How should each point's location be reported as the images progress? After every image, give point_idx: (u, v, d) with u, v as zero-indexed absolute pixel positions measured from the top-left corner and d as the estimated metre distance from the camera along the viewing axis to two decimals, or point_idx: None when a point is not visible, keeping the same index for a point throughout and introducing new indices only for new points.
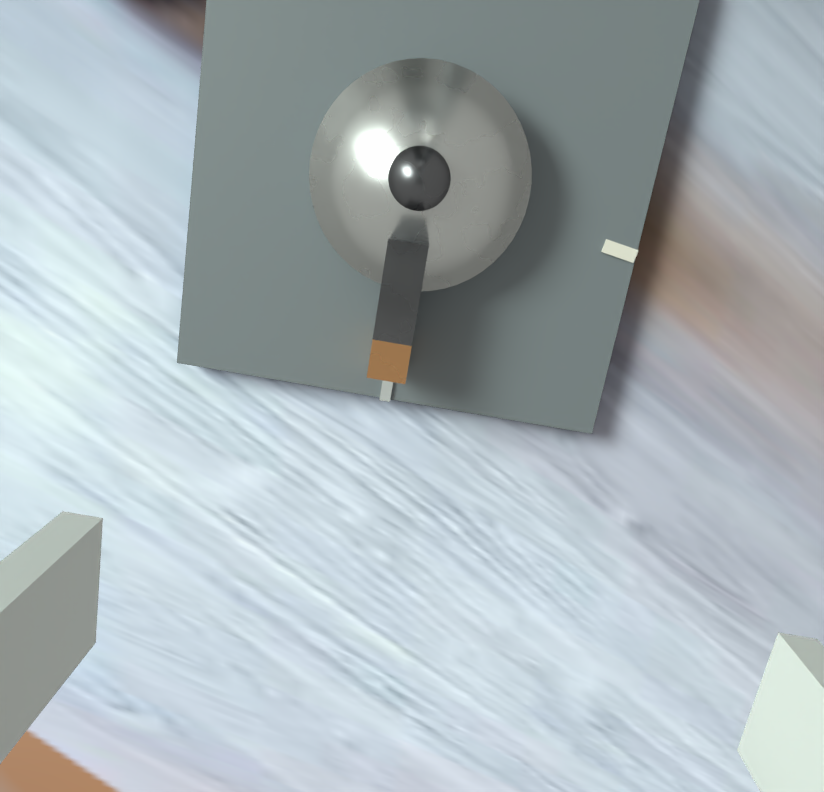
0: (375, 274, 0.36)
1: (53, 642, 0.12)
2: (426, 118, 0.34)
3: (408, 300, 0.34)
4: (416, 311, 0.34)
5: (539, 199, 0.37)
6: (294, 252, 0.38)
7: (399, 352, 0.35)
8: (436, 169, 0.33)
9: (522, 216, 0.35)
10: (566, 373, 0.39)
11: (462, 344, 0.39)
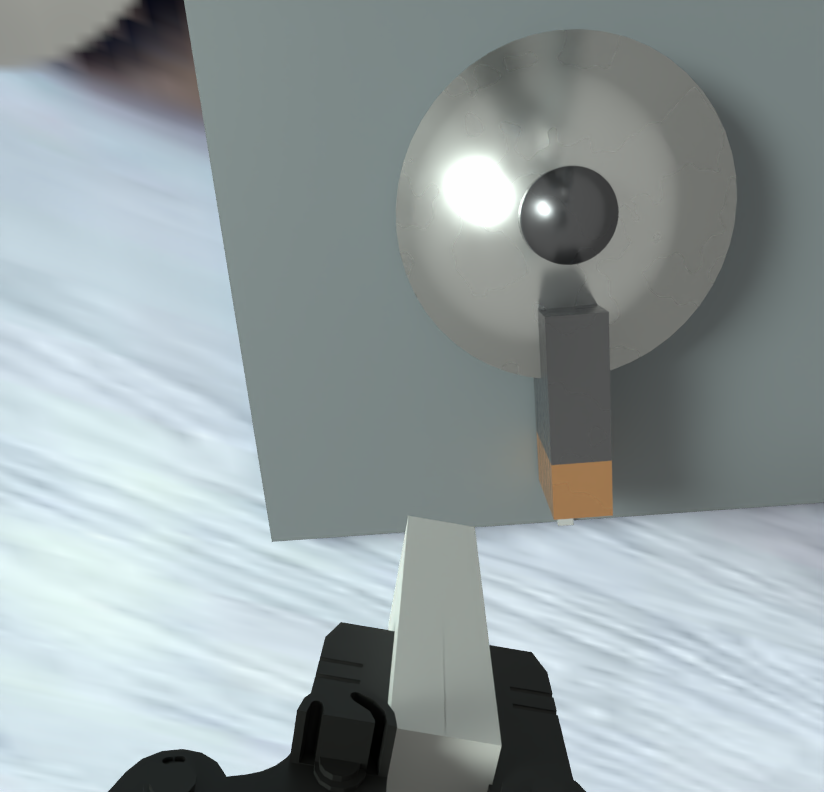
0: (526, 367, 0.24)
1: None
2: (555, 124, 0.22)
3: (593, 398, 0.23)
4: (608, 410, 0.23)
5: None
6: (395, 358, 0.26)
7: (594, 473, 0.23)
8: (593, 195, 0.22)
9: (730, 227, 0.23)
10: (820, 425, 0.27)
11: (659, 423, 0.27)
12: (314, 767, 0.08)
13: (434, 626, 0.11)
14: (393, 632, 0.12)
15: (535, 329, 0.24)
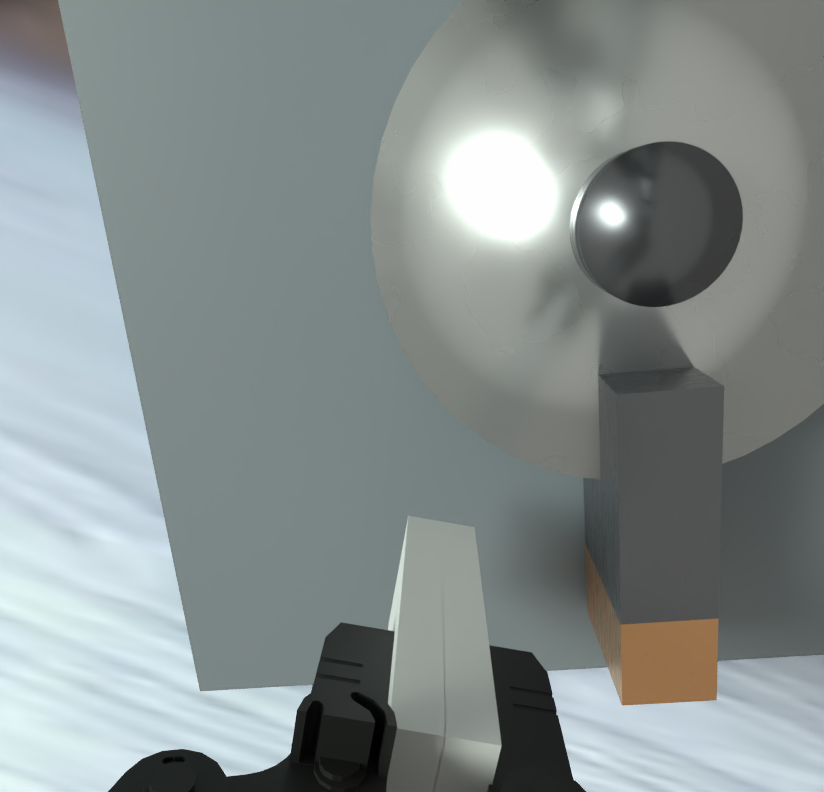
0: (578, 463, 0.15)
1: None
2: (634, 73, 0.13)
3: (693, 522, 0.14)
4: (716, 541, 0.14)
5: None
6: (375, 436, 0.18)
7: (689, 637, 0.15)
8: (701, 192, 0.13)
9: None
10: None
11: (768, 531, 0.18)
12: (314, 767, 0.08)
13: (434, 626, 0.11)
14: (393, 632, 0.12)
15: (593, 405, 0.15)
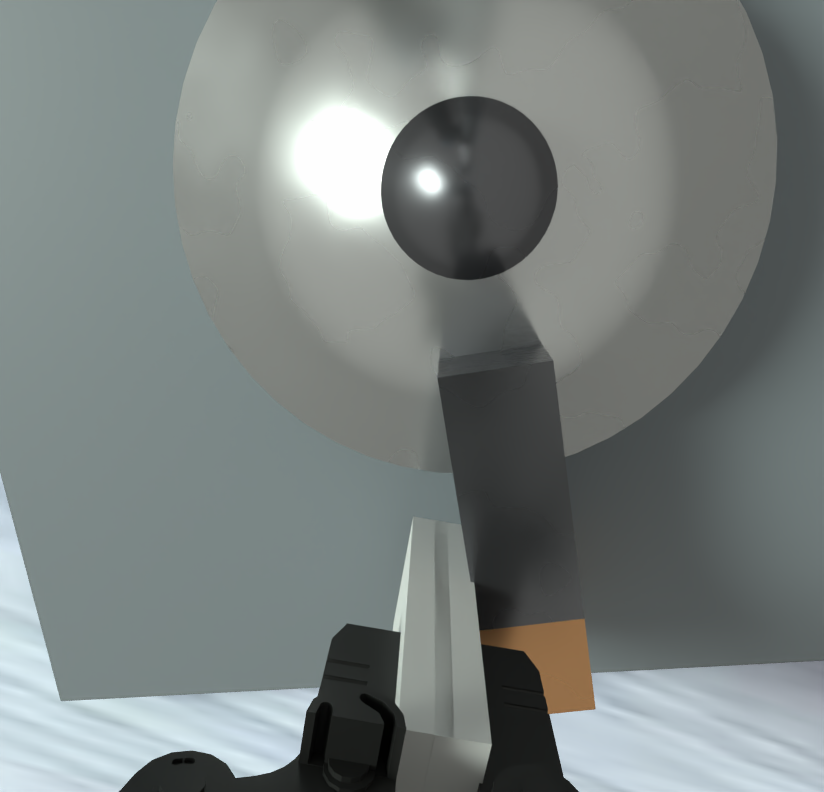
0: (432, 457, 0.14)
1: None
2: (433, 28, 0.12)
3: (541, 514, 0.13)
4: (570, 533, 0.13)
5: None
6: (225, 429, 0.17)
7: (555, 641, 0.13)
8: (507, 149, 0.12)
9: (769, 191, 0.13)
10: None
11: (650, 531, 0.17)
12: (323, 769, 0.08)
13: (426, 625, 0.11)
14: (399, 633, 0.12)
15: (439, 392, 0.14)
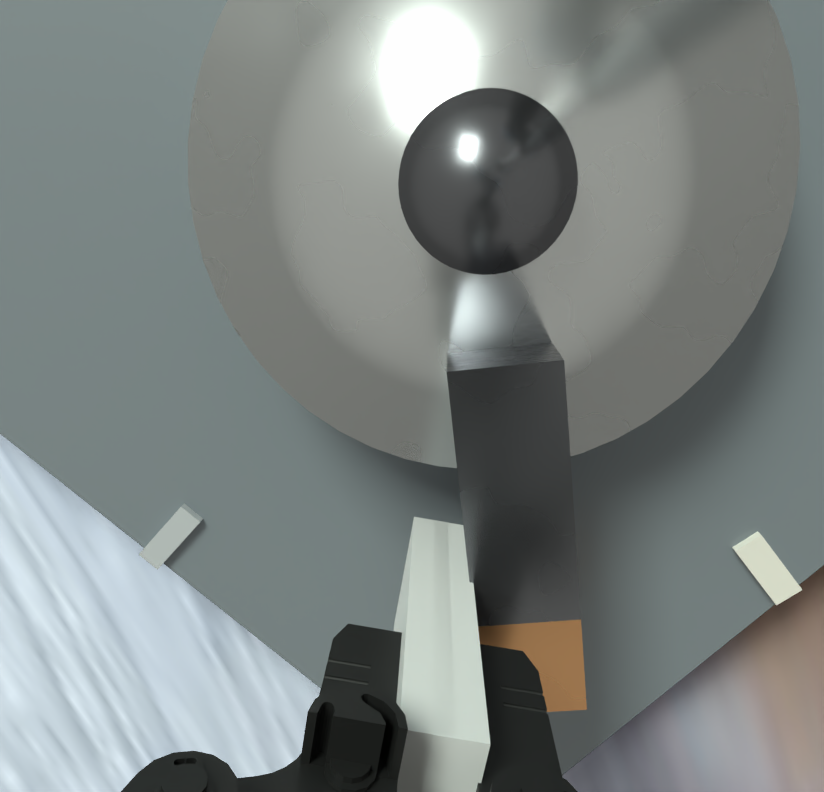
0: (435, 450, 0.14)
1: None
2: (459, 17, 0.12)
3: (544, 513, 0.13)
4: (571, 533, 0.13)
5: None
6: (124, 162, 0.15)
7: (551, 641, 0.13)
8: (529, 144, 0.11)
9: (789, 200, 0.12)
10: None
11: (363, 550, 0.17)
12: (325, 769, 0.08)
13: (425, 625, 0.11)
14: (400, 633, 0.12)
15: (445, 386, 0.14)
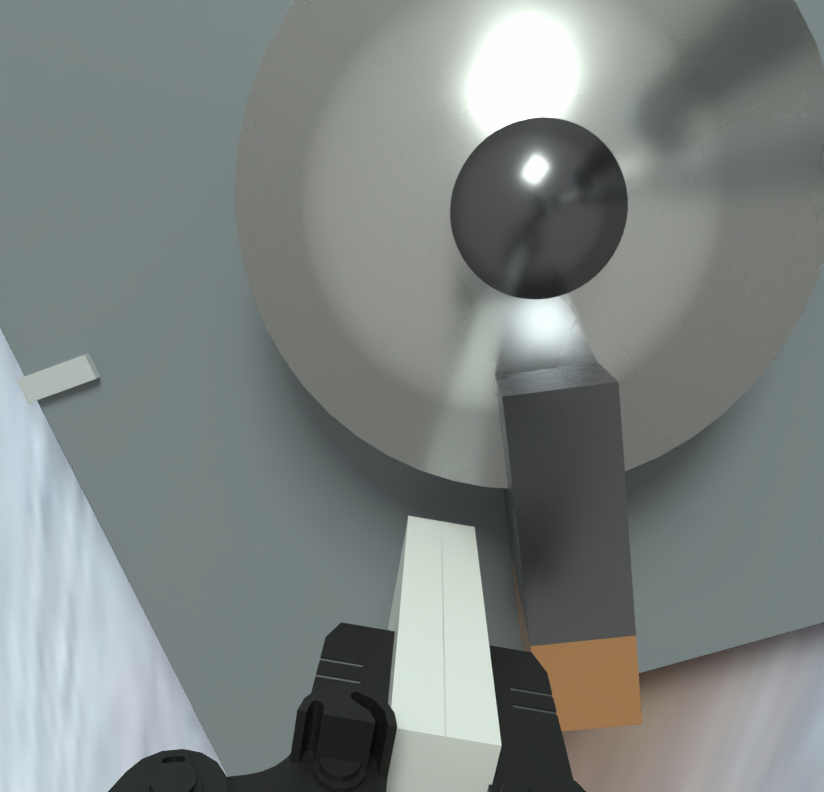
0: (483, 472, 0.14)
1: None
2: (504, 47, 0.12)
3: (599, 532, 0.13)
4: (626, 551, 0.13)
5: None
6: None
7: (606, 657, 0.13)
8: (579, 171, 0.12)
9: None
10: (310, 689, 0.18)
11: (241, 479, 0.17)
12: (314, 767, 0.08)
13: (434, 626, 0.11)
14: (393, 632, 0.12)
15: (493, 408, 0.14)
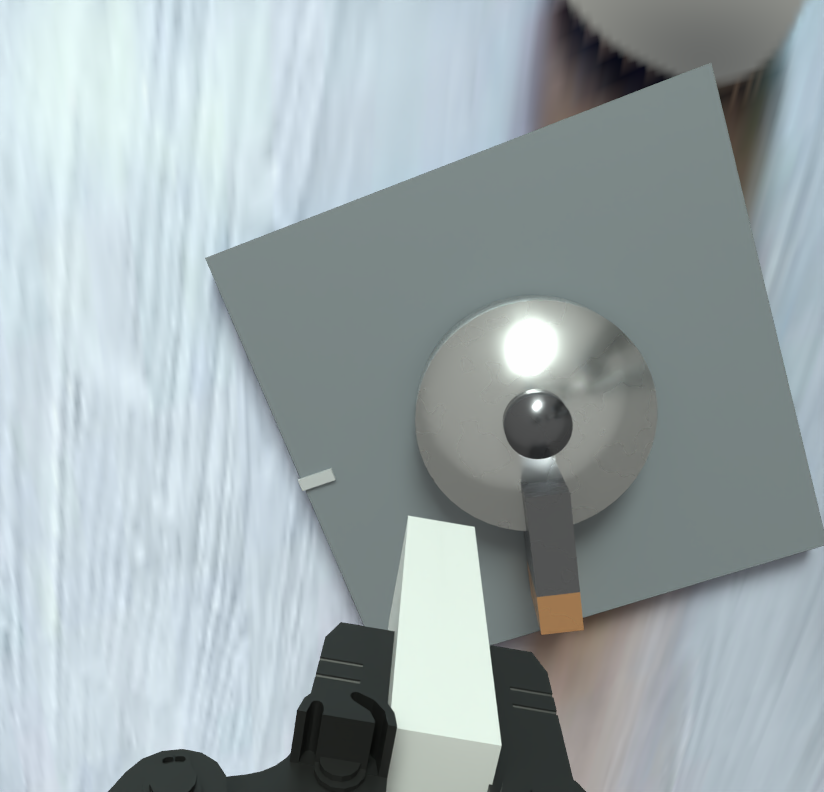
0: (515, 524, 0.33)
1: None
2: (524, 361, 0.31)
3: (564, 550, 0.32)
4: (575, 557, 0.32)
5: None
6: (393, 322, 0.33)
7: (568, 601, 0.32)
8: (554, 413, 0.31)
9: (654, 423, 0.32)
10: None
11: (399, 524, 0.36)
12: (314, 767, 0.08)
13: (434, 626, 0.11)
14: (393, 632, 0.12)
15: (520, 497, 0.33)
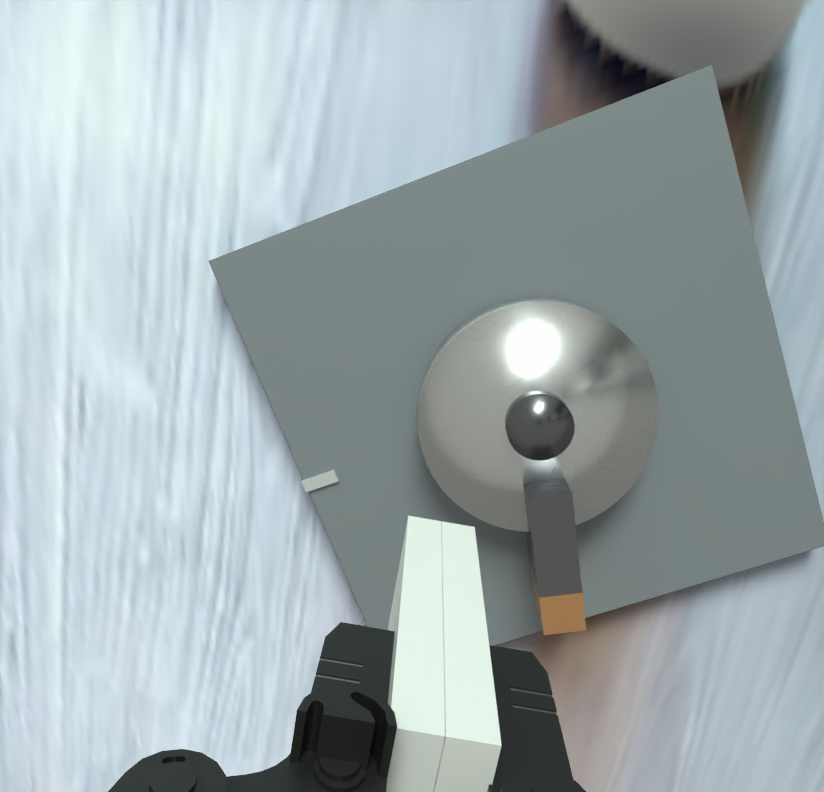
0: (518, 524, 0.33)
1: None
2: (526, 363, 0.31)
3: (566, 551, 0.32)
4: (577, 558, 0.32)
5: None
6: (395, 324, 0.33)
7: (570, 602, 0.32)
8: (556, 414, 0.31)
9: (656, 424, 0.32)
10: None
11: (401, 525, 0.36)
12: (314, 767, 0.08)
13: (434, 626, 0.11)
14: (393, 632, 0.12)
15: (522, 498, 0.33)
